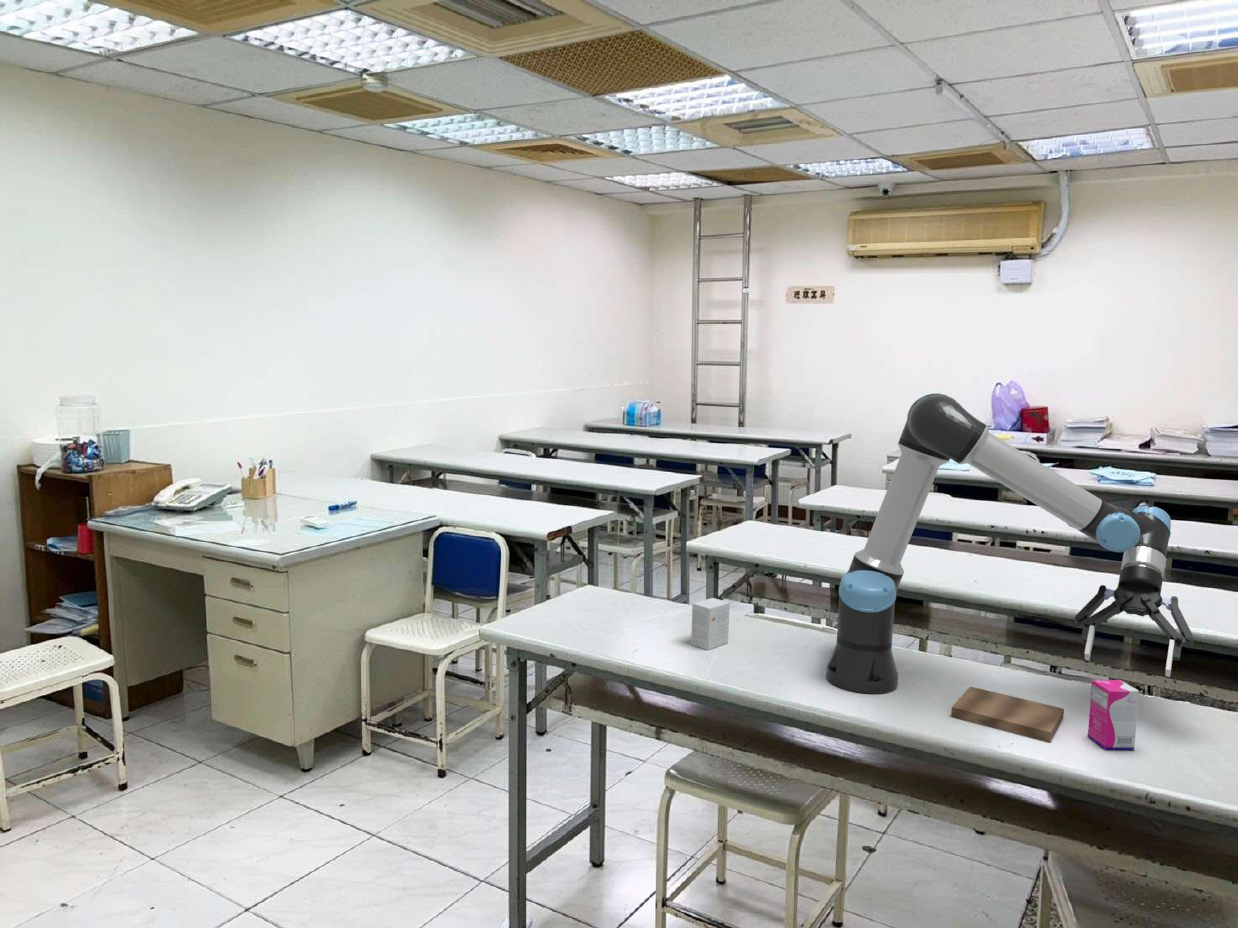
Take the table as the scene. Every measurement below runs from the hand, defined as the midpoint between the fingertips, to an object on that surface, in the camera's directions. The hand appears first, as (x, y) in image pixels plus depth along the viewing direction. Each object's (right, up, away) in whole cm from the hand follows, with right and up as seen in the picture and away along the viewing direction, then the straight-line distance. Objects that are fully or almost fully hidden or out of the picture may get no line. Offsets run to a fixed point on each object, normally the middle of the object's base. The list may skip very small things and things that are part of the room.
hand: (1126, 665), depth 166 cm
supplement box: (-6, -14, -5) cm, 16 cm away
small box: (-76, -5, +44) cm, 88 cm away
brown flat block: (-21, -12, +5) cm, 24 cm away
